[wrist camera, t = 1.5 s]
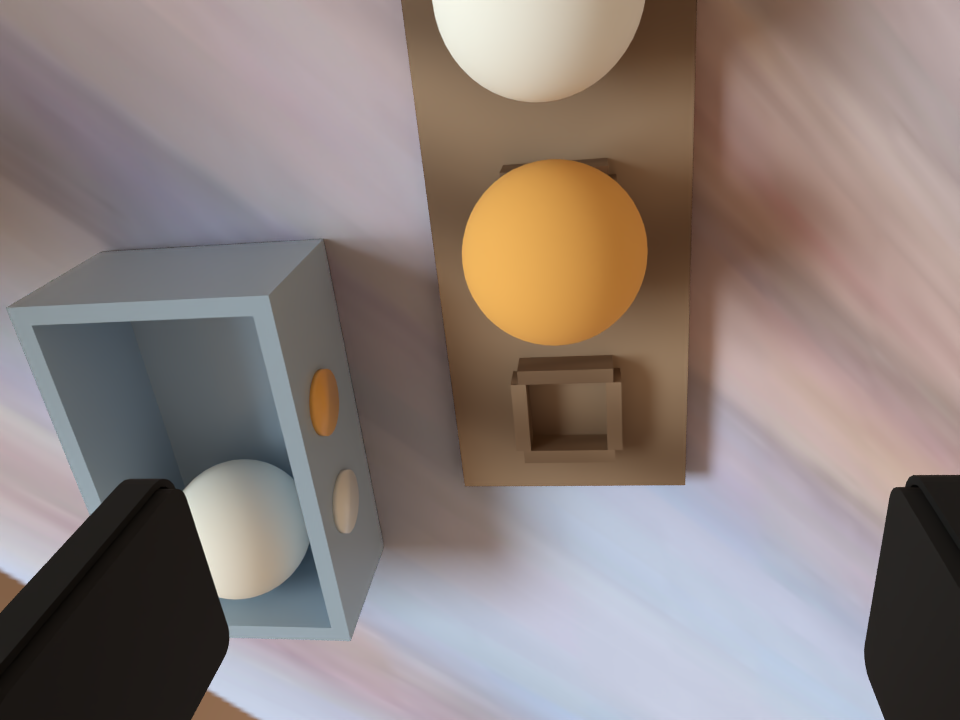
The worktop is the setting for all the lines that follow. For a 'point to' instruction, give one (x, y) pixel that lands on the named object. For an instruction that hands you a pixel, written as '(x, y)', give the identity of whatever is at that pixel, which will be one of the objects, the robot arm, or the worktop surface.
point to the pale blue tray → (216, 400)
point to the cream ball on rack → (537, 42)
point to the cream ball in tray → (248, 526)
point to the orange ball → (554, 252)
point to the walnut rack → (650, 318)
